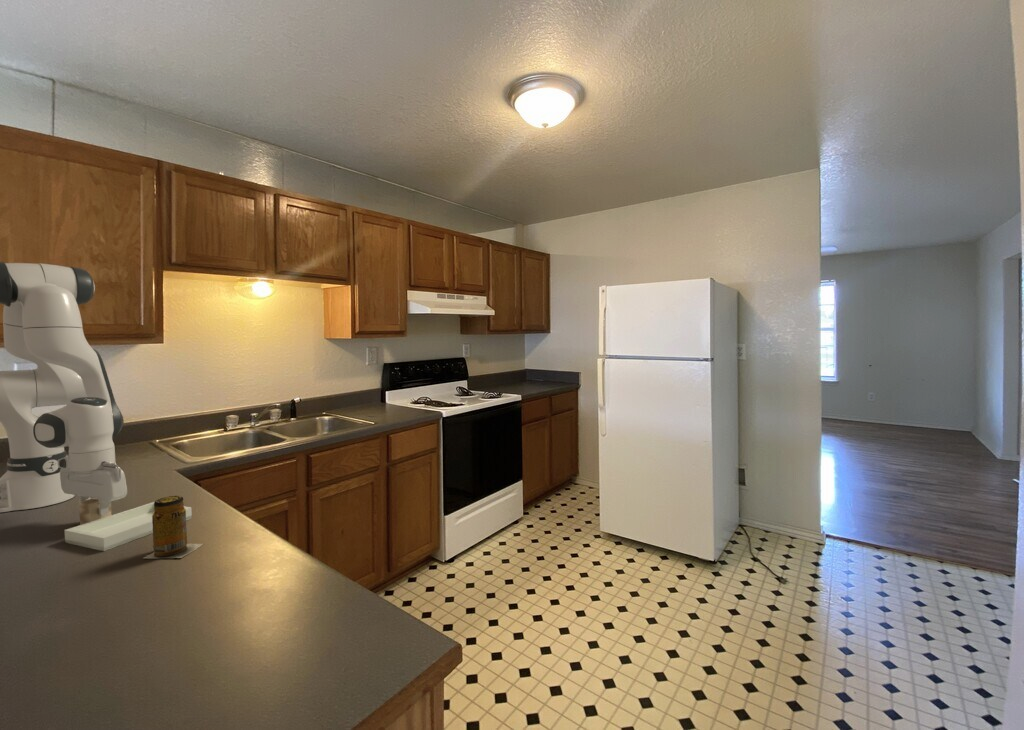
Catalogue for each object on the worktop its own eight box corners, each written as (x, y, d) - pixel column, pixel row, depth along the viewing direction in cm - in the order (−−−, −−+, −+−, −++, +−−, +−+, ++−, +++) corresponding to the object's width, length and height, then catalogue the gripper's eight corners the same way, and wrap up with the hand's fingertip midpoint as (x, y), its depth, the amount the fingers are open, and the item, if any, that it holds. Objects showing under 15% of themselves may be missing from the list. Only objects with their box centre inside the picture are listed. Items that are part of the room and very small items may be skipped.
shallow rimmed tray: (65, 542, 108) (64, 530, 107) (155, 512, 126) (154, 501, 126) (104, 551, 103) (103, 538, 103) (192, 518, 122) (191, 507, 122)
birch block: (80, 525, 118) (78, 502, 118) (100, 518, 122) (99, 496, 122) (91, 527, 116) (90, 504, 116) (111, 520, 121) (110, 498, 120)
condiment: (167, 544, 107) (165, 493, 106) (204, 544, 106) (202, 493, 106) (142, 559, 99) (139, 505, 99) (181, 559, 99) (178, 505, 99)
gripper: (133, 460, 118) (136, 513, 119) (82, 454, 125) (85, 504, 125) (104, 467, 112) (107, 522, 113) (53, 460, 119) (56, 512, 119)
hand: (95, 513), depth 119 cm, fingers closed on birch block, 4 cm apart
